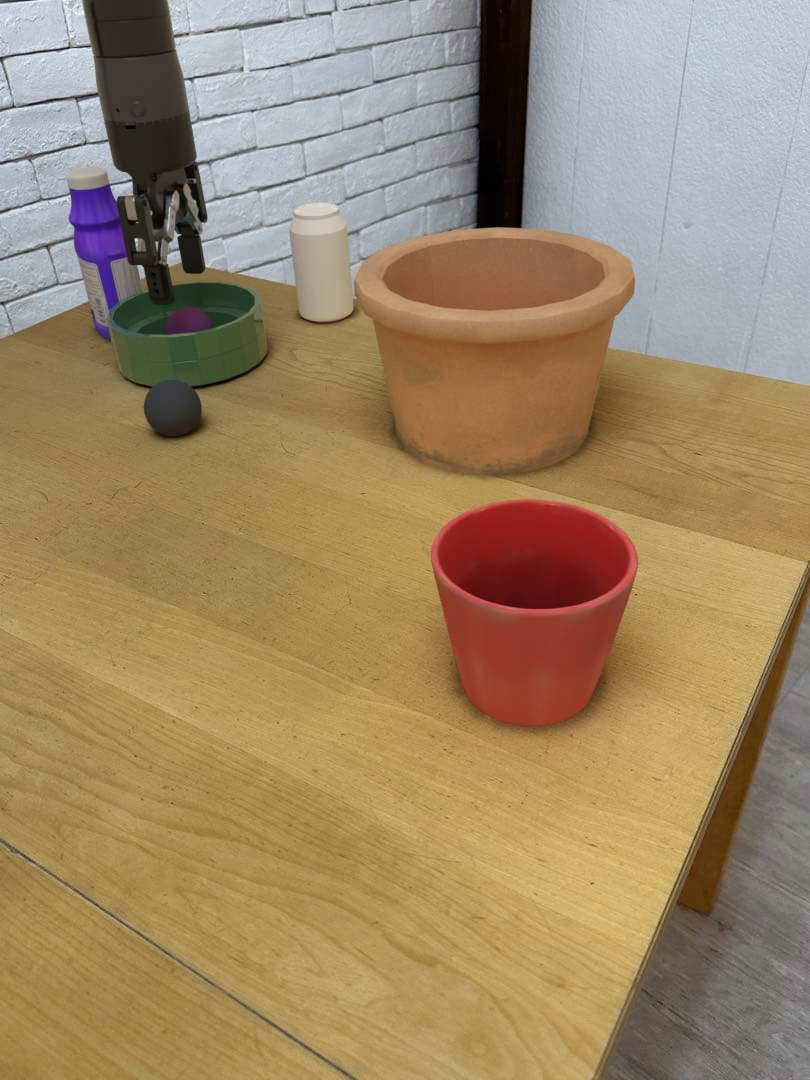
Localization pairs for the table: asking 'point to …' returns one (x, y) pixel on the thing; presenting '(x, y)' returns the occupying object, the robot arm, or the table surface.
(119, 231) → the bottle
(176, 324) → the plum ball
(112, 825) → the table surface
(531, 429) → the pottery
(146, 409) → the grey ball
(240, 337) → the green bowl
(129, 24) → the robot arm
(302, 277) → the beverage can
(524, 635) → the flower pot
